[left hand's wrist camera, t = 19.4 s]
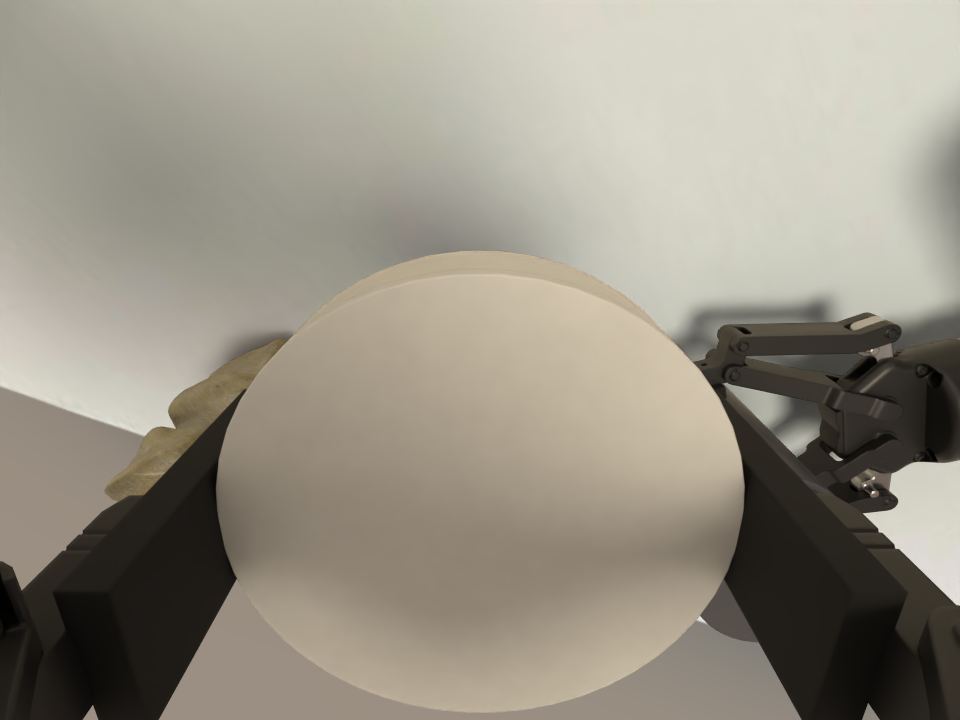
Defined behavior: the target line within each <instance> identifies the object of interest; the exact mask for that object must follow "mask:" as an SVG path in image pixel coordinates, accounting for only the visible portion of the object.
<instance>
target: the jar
mask: <svg viewBox="0 0 960 720" xmlns="http://www.w3.org/2000/svg"><path fill="white" fill-rule="evenodd" d="M722 384H723V383H722ZM723 385H724V384H723ZM724 386H725V385H724ZM725 387H726V386H725ZM726 396H727V398H725V399H726V400H727V401H728V402H729V403H730V404H731V405H732V407H733V408H734V409H735V410H736V411H737V412H738V413H739V414H740V415H741V416H742V417H743V418H744V419H745V420H746V421H747V422H748V423H749V424H750V426H751V427H752V428H753V429H754V430H755V431H756V432H757V433H758V434H759V435H760V436H761V437H762V438H763V439H764V440H765V441H766V442H767V443H768V445H769V446H770V447H771V448H772V449H773V450H774V451H775V452H776V453H777V454H778V455H779V456H780V457H781V458H782V459H783V460H784V461H785V463H786V464H787V465H788V466H789V467H790V468H791V469H792V470H793V471H794V472H795V473H796V474H797V475H798V476H799V477H800V478H801V479H802V480H803V482H804V483H805V484H806V485H807V486H808V487H809V488H810V489H811V490H812V491H813V492H814V493H815V494H833V493H832V492H831V491H830V490H829V489H828V488H827V487H826V486H825V485H824V484H823V483H822V482H821V481H820V480H819V479H818V478H817V477H816V476H815V475H814V474H813V473H812V472H811V471H810V470H809V469H808V468H807V467H806V466H805V465H804V464H803V463H802V462H801V461H800V460H799V459H798V458H797V457H796V456H795V455H794V454H793V453H792V452H791V451H790V450H789V449H788V448H787V447H786V446H785V445H784V444H783V443H782V442H781V441H780V440H779V439H778V438H777V437H776V436H775V435H774V434H773V433H772V432H771V431H770V430H769V429H768V428H767V427H766V426H765V425H764V424H763V423H762V422H761V421H760V420H759V419H758V418H757V417H756V416H755V415H754V414H753V413H752V412H751V411H750V410H749V409H748V408H747V407H746V406H745V405H744V404H743V403H742V402H741V401H740V400H739V399H738V398H737V397H736V396H735V395H734V394H733V393H732V392H731V391H730V390H729V389H728V388H727V387H726ZM833 495H834V494H833ZM700 616H701V617H702V618H703V619H704V620H705V622H706V623H707V624H709V625H710V626H711V627H713V628H714V629H715V630H717V631H719V632H720V633H722V634H724V635H727V636H729V637H732V638H735V639H739V640H743V641H750V642H758V640H757V638H756V636H755V634H754V633H753V631H752V629H751V627H750V625H749V624H748V622H747V620H746V618H745V616H744V615H743V613H742V611H741V609H740V607H739V606H738V604H737V602H736V600H735V598H734V597H733V595H732V593H731V591H730V589H729V588H728V586H727V584H726V582H725V580H724V579H723V581H722V582H721V584H720V586H719V588H718V590H717V592H716V594H715V595H714V597H713V598H712V599H711V601H710V602H709V604H708V605H707V606H706V608H705V609H704V611H703V612H702V613H701V615H700Z"/></svg>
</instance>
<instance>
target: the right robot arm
mask: <svg viewBox="0 0 960 720" xmlns="http://www.w3.org/2000/svg"><path fill="white" fill-rule="evenodd" d="M900 335H901V328H900V327H899V326H898V325H896V324H894V323H892V322H890V321H887V320H885V319H882V318H880V317H878V316H876V315H874V314H872V313H868V312H867V313H862V314H860V315H857V316H854V317H851V318H848V319H845V320H842V321H839V322H826V323H777V324H728V325H724V326H722V327H721V328H720V329H719V330H718V333H717V337H718V339H719V343H718V347H717V349H712V350H710V351H709V352H708V353H707V354H706V358H705V360H700V361H696V362H693V363H694V364H695V365H696V366H697V367H698V368H699V370H700V371H701V372H702V374H703V375H704V377H705V378H706V379H707V381H708V382H709V384H710V385H711V387H712V388H713V389H716V390H717V391H718V392H719V393H720V394H721V395H722V396H723V397H724V398H727V396H726V387H725V386H724V385H723V384H722V383H726V382H727V383H729V384H731V385H736V386H741V387H746V388H750V389H755V390H760V391H765V392H769V393H774V394H779V395H784V396H788V397H793V398H798V399H803V400H807V401H812V402H817V403H818V404H819V411H820V413H821V416H822V421H821V425H820V436H819V437H818V438H816V439H815V440H813V441H812V442H810V443H809V444H808V445H807V449H806V452H804V453H803V454H802V455H800V456H798V457H797V458H798V459H799V460H800V461H801V462H802V463H803V464H804V465H805V466H806V467H807V468H808V469H809V470H810V471H811V472H812V473H813V474H814V475H815V476H816V477H817V478H818V479H819V480H820V481H821V482H822V483H823V484H824V485H825V486H826V487H827V488H828V489H829V490H830V491H831V492H832V493H833V494H834V495H835V496H836V497H838V498H840V499H841V500H843V501H845V502H846V503H848V504H850V505H851V506H853V507H855V508H856V509H858V510H859V511H860V512H861V513H870V512H878V511H887V510H891V509H893V508H895V507H896V505H897V504H898V499H897V497H896V496H894V495H893V494H892V493H891V492H890V491H889V487H890V480H891V474H892V473H894V472H897V471H899V470H900V469H902V468H903V467H905V466H907V465H909V464H911V463H913V462H935V463H948V462H953V461H958V460H960V338H958V339H947V340H942V341H938V342H934V343H929V344H925V345H921V346H916V347H912V348H907V349H903V350H900V351H897V352H895V353H894V354H893V347H892V343H893V342H895V341H896V340H897V339H898V338H899V337H900ZM851 353H858V354H859V355H861V356H865V357H864V358H863V359H861V360H860V361H859V362H858V363H857V364H856V365H854V366H853V367H852V368H851V369H850V370H849V371H848V372H846V373H845V374H844V375H843V376H838V375H834V374H829V373H824V372H820V371H815V370H811V371H805V370H801V369H796V368H791V367H787V366H782V365H777V364H773V363H768V362H763V361H759V360H754V359H749V358H746V356H760V355H810V354H851ZM830 452H834V453H835V454H836V455H837V456H838V457H840V458H841V459H843V460H842V461H836V460H834V459H833V458H832V457H831V456H830V455H829V453H830Z"/></svg>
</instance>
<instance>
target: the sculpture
mask: <svg viewBox="0 0 960 720" xmlns="http://www.w3.org/2000/svg"><path fill="white" fill-rule="evenodd" d="M285 343H286V341H285V340H284V339H282V338H279V339H277V340H274V341H272V342H271V343H269V344H267V345H265V346H263V347H260V348H258V349H255V350H252V351H250V352H248V353H246V354H244V355H242V356H240V357H238V358H236V359H234V360H232V361H230V362H229V363H227V364H225V365H224V366H222V367H221V368H219V369H218V370H216V371H215V372H214V373H213V374H211V376H210V377H209V378H208V379H206V380H204V381H202V382H200V383H198V384H196V385H194V386H192V387H190V388H188V389H186V390H184V391H183V392H182V393H180V394H179V395H178V396H177V397H176V398H175V399H174V400H173V401H172V403H171V405H170V407H169V410H168V413H169V416H170V418H171V420H172V422H173V424H174V426H175V427H176V429H173V428H167V427H156V428H153V429H152V430H151V431H150V432H149V433H148V434H147V435H146V436H145V437H144V439H143V441H142V443H141V446H140V448H139V450H138V452H137V454H136V456H135V457H134V459H133V460H132V462H131V463H130V465H129V466H128V467H127V468H126V469H125V470H123V471H122V472H121V473H119V474H118V475H117V476H115V477H114V478H113V479H112V480H111V481H110V482H109V483H108V485H107V486H106V488H105V493H106V494H107V495H108V496H109V497H110V498H111V499H112V500H114V501H116V502H119V501H121V500H122V499H124V498H126V497H127V496H129V495H145V494H146V493H147V491H148V490H149V489H150V488H151V487H152V486H153V485H154V484H155V483H156V482H157V481H158V480H159V479H160V478H161V477H162V476H163V475H164V473H165V472H166V471H167V470H168V469H169V468H170V467H171V466H172V465H173V464H174V463H175V462H176V461H177V460H178V459H179V458H180V457H181V456H182V454H183V453H184V452H185V451H186V450H187V449H188V448H189V447H190V446H191V445H192V444H193V443H194V442H195V441H196V440H197V439H198V438H199V436H200V435H201V434H202V433H203V432H204V431H205V430H206V429H207V428H208V427H209V426H210V425H211V424H212V423H213V422H214V421H215V420H216V419H217V417H218V416H219V415H220V414H221V413H222V412H223V411H224V410H225V409H226V408H227V407H228V406H229V405H230V404H231V403H232V402H233V401H234V400H235V398H236V397H237V396H238V395H239V394H240V393H241V392H242V391H243V390H244V389H248V388H249V386H250V385H251V383H252V382H253V380H254V379H255V377H256V376H257V374H258V373H259V371H260V370H261V369H262V368H263V367H264V366H265V365H266V364H267V363H268V362H269V361H270V359H271V358H272V357H273V356H274V355H275V354H276V353H277V352H278V351H279V350H280V348H281V347H282V346H283V345H284V344H285Z"/></svg>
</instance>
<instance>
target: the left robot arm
mask: <svg viewBox="0 0 960 720" xmlns="http://www.w3.org/2000/svg"><path fill="white" fill-rule="evenodd" d="M713 390H714V391H715V393H716V394H717V396H718V397H719V399H720V401H721V403H722V405H723V407H724V409H725V411H726V414H727V416H728V418H729V420H730V422H731V424H732V426H733V430H734V433H735V436H736V440H737V443H738V447H739V450H740V454H741V459H742V467H743V476H744V484H745V491H744V510H743V516H742V521H741V526H740V530H739V535H738V540H737V545H736V549H735V553H734V555H733V558H732V561H731V564H730V566H729V569H728V571H727V573H726V575H725V577H724V580H725V582H726V584H727V586H728V588H729V589H730V591H731V593H732V595H733V597H734V598H735V600H736V602H737V604H738V606H739V607H740V609H741V611H742V613H743V615H744V616H745V618H746V620H747V622H748V624H749V625H750V627H751V629H752V631H753V633H754V634H755V636H756V638H757V640H758V642H759V644H760V645H761V647H762V649H763V651H764V652H765V654H766V656H767V658H768V660H769V662H770V663H771V665H772V667H773V669H774V671H775V672H776V674H777V676H778V678H779V680H780V681H781V683H782V685H783V687H784V688H785V690H786V692H787V694H788V696H789V698H790V699H791V701H792V703H793V705H794V707H795V708H796V710H797V712H798V714H799V716H800V717H801V719H802V720H862V718H863V715H864V713H865V710H866V707H867V704H868V703H869V705H870V706H871V708H872V709H873V710H874V712H875V713H876V715H877V716H878V718H879V719H880V720H960V606H958V605H956V604H955V603H954V602H953V601H952V600H951V599H949V598H948V597H947V596H946V595H945V594H944V593H943V592H942V591H941V590H940V589H939V588H938V587H937V586H936V585H935V584H934V583H933V582H932V581H931V580H930V579H929V578H928V577H927V576H926V575H925V574H924V573H923V572H922V571H921V570H920V569H919V568H918V567H917V566H916V565H915V564H914V563H913V562H912V561H911V560H910V559H909V558H908V557H907V556H905V555H904V554H903V553H902V552H901V551H900V550H899V549H895V545H894V544H893V543H892V542H891V541H890V540H889V539H888V538H887V537H886V536H885V535H884V534H883V533H879V532H878V528H877V527H876V526H875V525H874V524H873V523H872V522H871V521H870V520H869V519H868V518H867V517H866V516H865V515H864V514H862V513H861V512H860V511H859V510H858V509H856V508H855V507H853V506H851V505H850V504H848V503H846V502H845V501H843V500H841V499H840V498H838V497H836V496H835V495H833V494H815V493H814V492H813V491H812V490H811V489H810V488H809V487H808V486H807V485H806V484H805V483H804V482H803V480H802V479H801V478H800V477H799V476H798V475H797V474H796V473H795V472H794V471H793V470H792V469H791V468H790V467H789V466H788V465H787V464H786V463H785V461H784V460H783V459H782V458H781V457H780V456H779V455H778V454H777V453H776V452H775V451H774V450H773V449H772V448H771V447H770V446H769V445H768V443H767V442H766V441H765V440H764V439H763V438H762V437H761V436H760V435H759V434H758V433H757V432H756V431H755V430H754V429H753V428H752V427H751V426H750V424H749V423H748V422H747V421H746V420H745V419H744V418H743V417H742V416H741V415H740V414H739V413H738V412H737V411H736V410H735V409H734V408H733V407H732V405H731V404H730V403H729V402H728V401H727V400H726V399H725V398H724V397H723V396H722V395H721V394H720V393H719V392H718V391H717V390H716V389H713ZM246 391H247V389H244V390H243V391H242V392H241V393H240V394H239V395H238V396H237V397H236V398H235V400H234V401H233V402H232V403H231V404H230V405H229V406H228V407H227V408H226V409H225V410H224V411H223V412H222V413H221V414H220V415H219V416H218V417H217V419H216V420H215V421H214V422H213V423H212V424H211V425H210V426H209V427H208V428H207V429H206V430H205V431H204V432H203V433H202V434H201V435H200V436H199V438H198V439H197V440H196V441H195V442H194V443H193V444H192V445H191V446H190V447H189V448H188V449H187V450H186V451H185V452H184V453H183V454H182V456H181V457H180V458H179V459H178V460H177V461H176V462H175V463H174V464H173V465H172V466H171V467H170V468H169V469H168V470H167V471H166V472H165V473H164V475H163V476H162V477H161V478H160V479H159V480H158V481H157V482H156V483H155V484H154V485H153V486H152V487H151V488H150V489H149V490H148V491H147V493H146V494H145V495H129V496H127V497H126V498H124V499H122V500H121V501H119V502H117V503H116V504H114V505H112V506H111V507H109V508H107V509H106V510H104V511H102V512H101V513H100V514H99V515H98V516H97V517H96V518H95V519H94V520H93V521H92V522H91V523H90V524H89V525H88V526H87V527H86V528H85V529H84V530H83V534H82V535H78V536H77V537H76V538H75V539H74V540H73V541H72V542H71V543H70V544H69V545H68V546H67V549H66V551H62V552H61V553H60V554H59V555H58V556H57V557H56V558H55V559H54V560H53V561H52V562H50V563H49V564H48V565H47V566H46V567H45V568H44V569H43V570H42V571H41V572H40V573H39V574H38V575H37V576H36V577H35V578H34V579H33V580H32V581H31V582H30V583H29V584H28V585H27V586H26V587H25V588H24V589H23V590H22V591H21V588H20V586H19V583H18V580H17V578H16V575H15V573H14V570H13V568H12V567H11V566H9V565H7V564H6V563H4V562H1V561H0V720H83V718H84V717H85V715H86V714H87V712H88V711H89V710H90V708H91V707H92V705H93V706H94V709H95V711H96V714H97V717H98V720H159V718H160V716H161V714H162V713H163V711H164V709H165V707H166V705H167V704H168V702H169V700H170V698H171V696H172V695H173V693H174V691H175V689H176V687H177V686H178V684H179V682H180V680H181V678H182V677H183V675H184V673H185V671H186V669H187V668H188V666H189V664H190V662H191V660H192V659H193V657H194V655H195V653H196V651H197V650H198V648H199V646H200V644H201V642H202V641H203V639H204V637H205V635H206V633H207V631H208V630H209V628H210V626H211V624H212V622H213V621H214V619H215V617H216V615H217V613H218V612H219V610H220V608H221V606H222V604H223V603H224V601H225V599H226V597H227V595H228V594H229V592H230V590H231V588H232V586H233V585H234V583H235V581H236V579H237V578H236V576H235V574H234V572H233V570H232V567H231V564H230V562H229V559H228V556H227V554H226V551H225V547H224V542H223V537H222V532H221V528H220V523H219V518H218V512H217V501H216V482H217V472H218V463H219V457H220V453H221V449H222V445H223V442H224V438H225V434H226V431H227V428H228V426H229V424H230V421H231V419H232V417H233V415H234V413H235V410H236V408H237V406H238V404H239V402H240V400H241V398H242V397H243V395H244V394H245V392H246Z"/></svg>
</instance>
